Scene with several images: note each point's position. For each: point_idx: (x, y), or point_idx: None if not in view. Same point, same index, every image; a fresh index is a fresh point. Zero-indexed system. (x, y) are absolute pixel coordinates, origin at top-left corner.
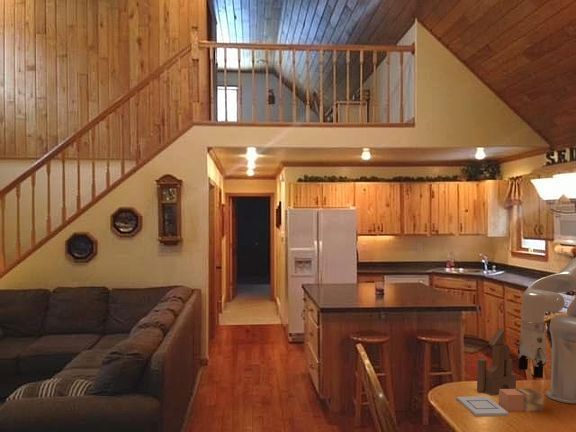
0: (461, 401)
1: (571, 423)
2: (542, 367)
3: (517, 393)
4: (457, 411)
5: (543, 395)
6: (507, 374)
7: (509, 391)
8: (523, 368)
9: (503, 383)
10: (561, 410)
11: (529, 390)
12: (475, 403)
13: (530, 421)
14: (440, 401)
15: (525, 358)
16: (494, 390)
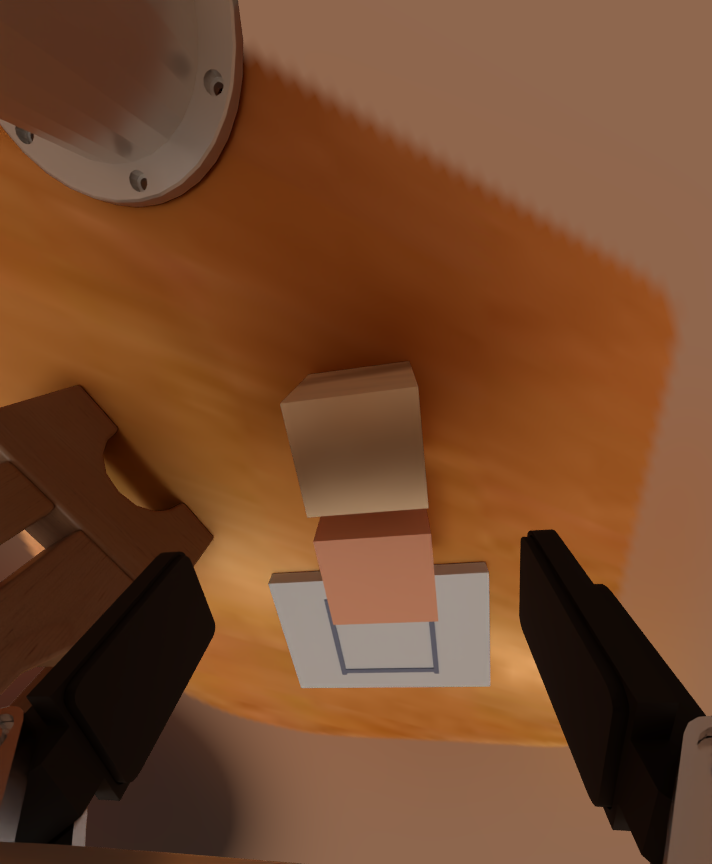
0: (349, 685)
1: (625, 264)
2: (657, 692)
3: (408, 561)
4: (434, 707)
5: (417, 385)
6: (39, 507)
7: (373, 590)
8: (198, 604)
9: (119, 503)
10: (393, 221)
11: (331, 458)
12: (373, 653)
13: (561, 496)
14: (336, 722)
15: (66, 740)
16: (191, 540)
